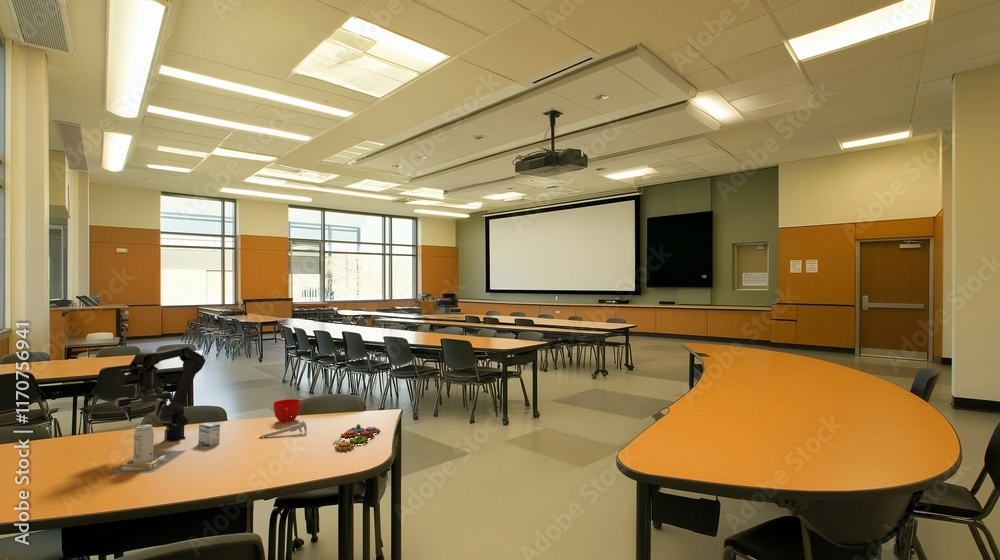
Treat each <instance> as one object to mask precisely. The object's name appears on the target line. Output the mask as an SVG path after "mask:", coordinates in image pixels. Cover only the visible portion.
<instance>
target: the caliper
mask: <svg viewBox="0 0 1000 560" xmlns="http://www.w3.org/2000/svg"><path fill="white" fill-rule="evenodd" d="M302 428H303V429H304V430H302ZM307 429H308V428H307V423H306V422H305V421H304V420H302V421H300V423H297V424H294V425H290V426H289V427H286V428H282V429H280V430H275V431H271V432H268V433H265V434H261V435H260V436H259V437H258V439H261V438H260V437H267V438H269V437H268V436H270V437H274V436H277V435H280V434H283V433H287V432H291V433H293V432H296V431H297V430H298V431H299V433H300V434H301V432H302V433H303V431H304V433H305V432H306V433H307Z"/></svg>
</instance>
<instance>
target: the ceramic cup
mask: <svg viewBox="0 0 1000 560" xmlns="http://www.w3.org/2000/svg"><path fill="white" fill-rule="evenodd" d="M301 403H302V401H301V400H300V399H297V398H291V399H289V398H288V399H287V398H285V399H280V400H275V401H274V402H273V404H272V405H273V412H274V413H273V414H274V416H275V418H276V419H277V420H278V422H280V423H281V422H288V423H292V422H294V421H295V420H296V418H297V417H298V416H299V414H300V410H301ZM291 416H292V417H291Z"/></svg>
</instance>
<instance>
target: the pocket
mask: <svg viewBox="0 0 1000 560" xmlns="http://www.w3.org/2000/svg"><path fill="white" fill-rule="evenodd" d="M164 461H166V455H164V456H161V457H160V458H158V459H156V460H155V461H153V462H152V463H138V464H133V457H132V458H131V459H128V460H127V461H124V462H123V463H121V464H119V468H120V471H123V470H143V469H153V468H155V467H156V466H158V465H159V464H161V463H162V462H164Z"/></svg>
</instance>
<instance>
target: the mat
mask: <svg viewBox="0 0 1000 560" xmlns="http://www.w3.org/2000/svg"><path fill="white" fill-rule="evenodd" d="M186 451H187V450H170V451H169V450H168V451H165V450H163V451H153V461H155V460H156V459H158V458H160V457H161V456H164V455H166V461H164V462H162V463H161V464H159V465H158V466H156V467H155V468H153V469H143V470H123V471H120V467H118V468H117V469H114V470H113V471H111V472H109V473H108V474H107V475H109V476H110V475H125V474H126V475H127V474H146V473H151V474H152V473H154V472H156V471H157V470H159V469H161V468H162V467H163V466H164V465H166V464H168V463H169V462H171V461H172V460H174V459H176V458H177V457H179V456H180V455H181V454H184V453H185V452H186Z"/></svg>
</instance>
